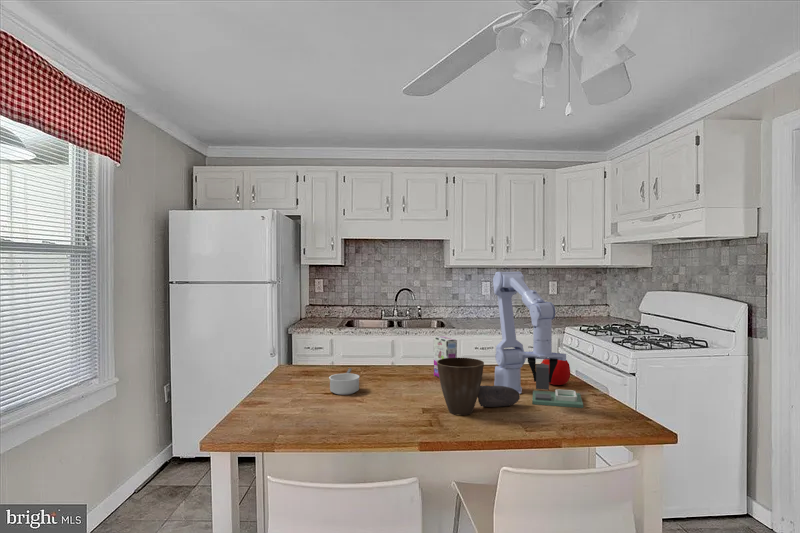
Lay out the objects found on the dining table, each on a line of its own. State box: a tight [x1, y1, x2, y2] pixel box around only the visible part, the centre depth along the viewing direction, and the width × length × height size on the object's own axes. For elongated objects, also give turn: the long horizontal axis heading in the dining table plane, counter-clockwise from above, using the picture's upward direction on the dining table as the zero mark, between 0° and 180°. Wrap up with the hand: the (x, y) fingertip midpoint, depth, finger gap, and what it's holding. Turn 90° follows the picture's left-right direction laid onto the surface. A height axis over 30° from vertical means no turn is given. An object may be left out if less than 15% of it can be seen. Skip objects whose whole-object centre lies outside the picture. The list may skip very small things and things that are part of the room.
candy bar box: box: [433, 336, 458, 378], centre depth 198 cm, size 11×5×16 cm, turn 25°
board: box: [531, 388, 584, 409], centre depth 166 cm, size 16×14×2 cm
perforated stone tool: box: [477, 385, 521, 408], centre depth 160 cm, size 15×5×7 cm, turn 96°
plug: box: [535, 362, 550, 391], centre depth 157 cm, size 4×6×7 cm, turn 163°
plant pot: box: [437, 357, 485, 416], centre depth 154 cm, size 15×15×16 cm
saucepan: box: [328, 367, 361, 396], centre depth 183 cm, size 12×20×6 cm, turn 177°
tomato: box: [540, 359, 571, 386], centre depth 187 cm, size 12×12×11 cm
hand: (542, 381), depth 157 cm, fingers closed on plug, 4 cm apart
